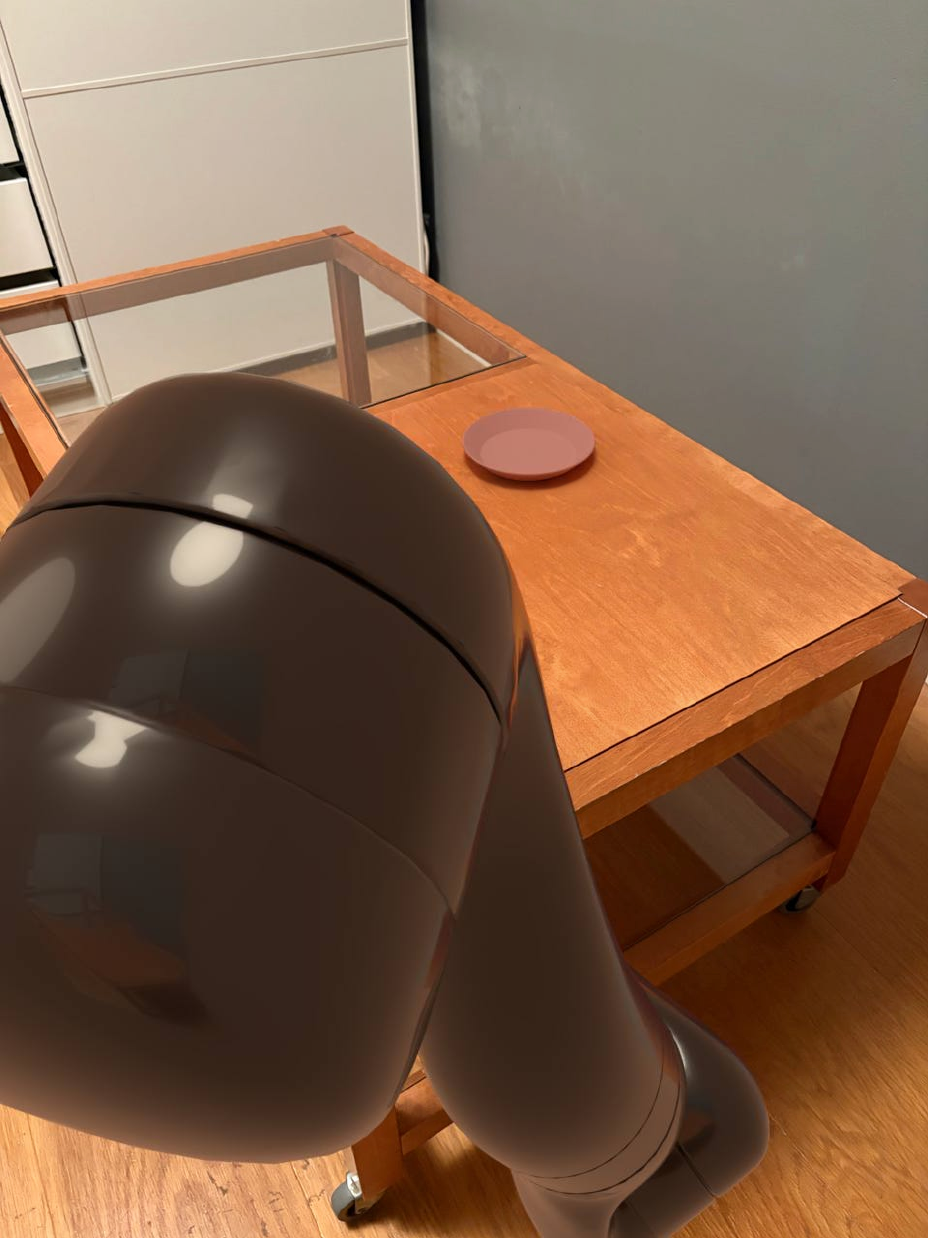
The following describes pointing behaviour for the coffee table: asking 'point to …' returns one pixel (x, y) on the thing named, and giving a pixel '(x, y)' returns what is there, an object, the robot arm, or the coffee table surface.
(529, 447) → the plate
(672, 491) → the coffee table surface
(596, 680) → the coffee table surface
